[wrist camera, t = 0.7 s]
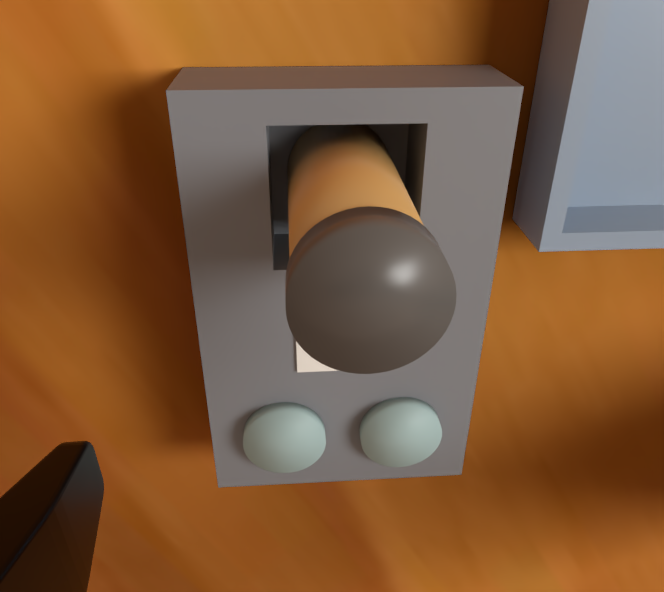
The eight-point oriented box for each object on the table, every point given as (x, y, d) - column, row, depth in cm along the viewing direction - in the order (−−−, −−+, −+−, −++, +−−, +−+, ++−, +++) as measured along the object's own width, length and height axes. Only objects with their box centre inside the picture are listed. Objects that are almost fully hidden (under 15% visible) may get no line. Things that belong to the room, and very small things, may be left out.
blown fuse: (396, 114, 18) (466, 224, 11) (390, 219, 20) (447, 370, 13) (282, 116, 18) (281, 229, 11) (286, 222, 20) (288, 377, 13)
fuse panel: (489, 64, 18) (530, 90, 15) (443, 419, 25) (464, 485, 22) (182, 67, 17) (162, 94, 14) (225, 429, 25) (216, 498, 22)
